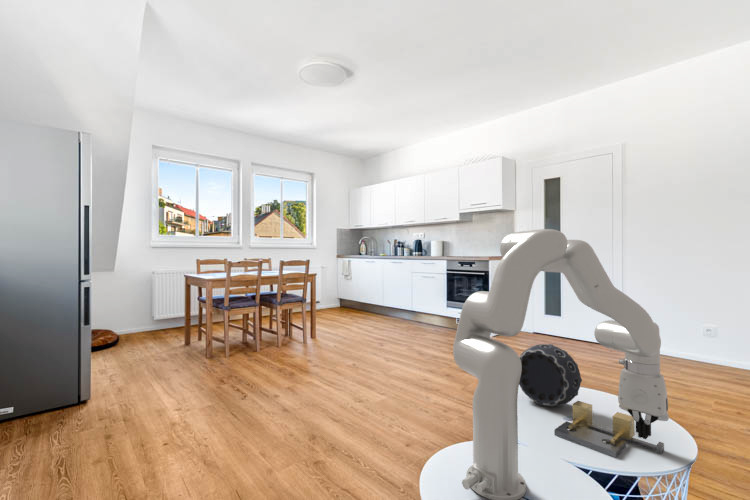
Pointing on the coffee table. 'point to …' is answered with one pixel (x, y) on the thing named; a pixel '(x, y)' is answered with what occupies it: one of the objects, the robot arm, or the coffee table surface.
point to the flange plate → (590, 439)
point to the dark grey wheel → (549, 375)
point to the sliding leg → (622, 427)
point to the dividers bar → (585, 419)
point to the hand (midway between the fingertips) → (643, 436)
